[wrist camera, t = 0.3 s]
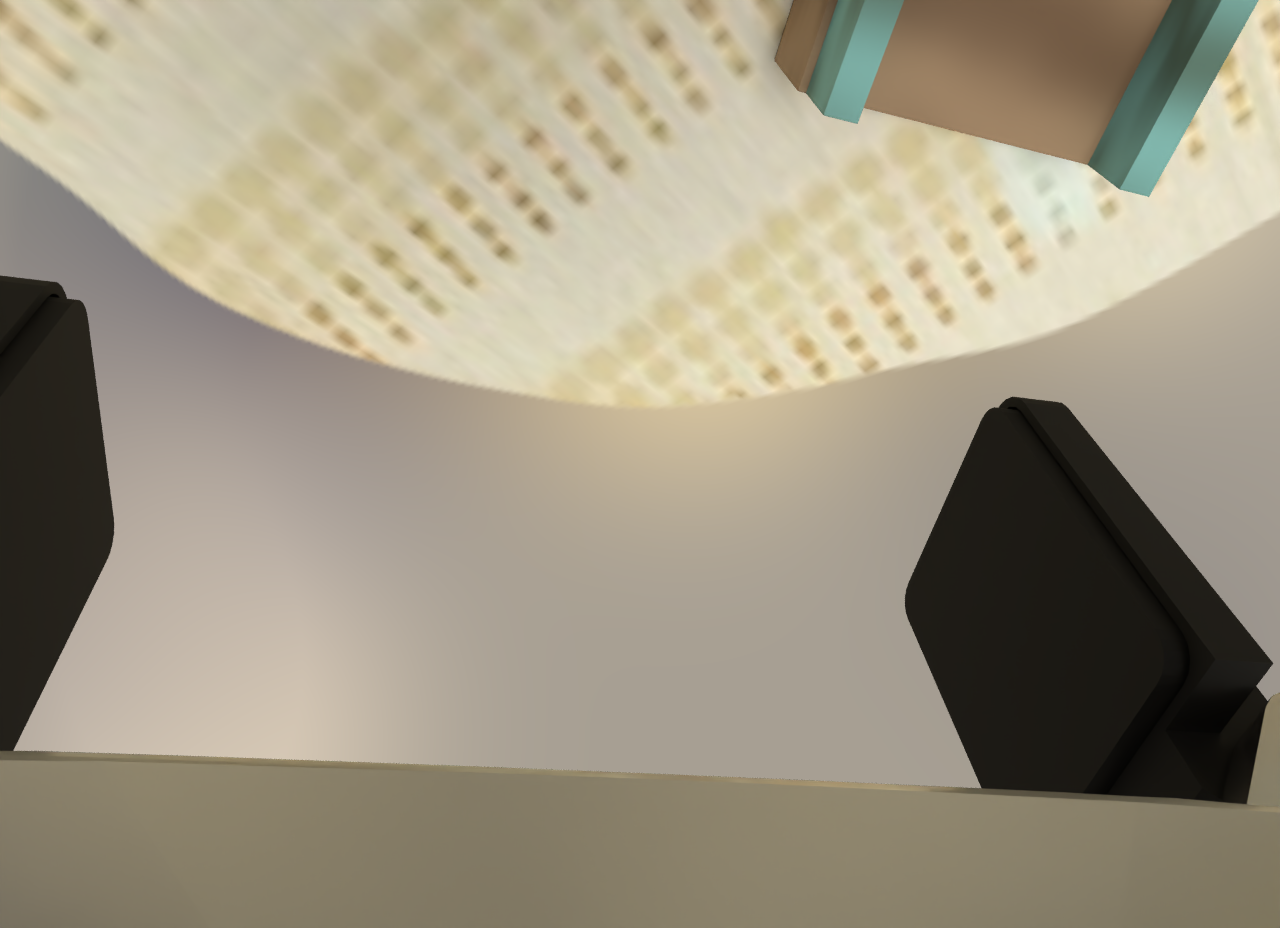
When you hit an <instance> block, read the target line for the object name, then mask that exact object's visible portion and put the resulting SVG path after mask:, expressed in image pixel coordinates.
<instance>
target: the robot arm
mask: <svg viewBox="0 0 1280 928" xmlns="http://www.w3.org/2000/svg"><path fill="white" fill-rule="evenodd" d="M113 536H114V517H113V510H112V501H111V494H110V486H109V478H108V471H107V463H106V455H105V447H104V440H103V432H102V425H101V417H100V409H99V402H98V393H97V386H96V379H95V370H94V362H93V355H92V347H91V340H90V332H89V324H88V317H87V312H86V309H85V306H84V304H83V303H82V302H81V301H80V300H72V299H67V297H66V294H65V292H64V290H63V288H62V286H61V285H60V284H59V283H57V282H50V281H41V280H32V279H24V278H16V277H8V276H0V928H1280V693H1278V694H1275V695H1273V696H1272V697H1271V698H1270V699H1269V701H1267V700H1266V698H1265V697H1264V696H1263V695H1262V693H1261V692H1260V691H1259V689H1258V688H1257V687H1256V685H1257V684H1258V683H1259V682H1260V680H1261V679H1262V678H1263V676H1264V675H1265V674H1266V672H1267V671H1268V670H1269V668H1270V667H1271V666H1272V664H1273V662H1272V661H1271V660H1270V659H1269V657H1268V656H1267V655H1266V654H1265V652H1264V651H1263V650H1262V649H1261V648H1260V646H1259V645H1258V644H1257V643H1256V641H1255V640H1254V639H1253V638H1252V637H1251V635H1250V634H1249V633H1248V631H1247V630H1246V629H1245V628H1244V626H1243V625H1242V624H1241V623H1240V621H1239V620H1238V619H1237V618H1236V616H1235V615H1234V614H1233V613H1232V612H1231V610H1230V609H1229V608H1228V606H1227V605H1226V604H1225V603H1224V601H1223V600H1222V599H1221V598H1220V596H1219V595H1218V594H1217V593H1216V591H1215V590H1214V589H1213V588H1212V587H1211V585H1210V584H1209V583H1208V582H1207V580H1206V579H1205V578H1204V577H1203V575H1202V574H1201V573H1200V572H1199V570H1198V569H1197V568H1196V567H1195V565H1194V564H1193V563H1192V562H1191V560H1190V559H1189V558H1188V557H1187V555H1186V554H1185V553H1184V552H1183V550H1182V549H1181V548H1180V547H1179V545H1178V544H1177V543H1176V542H1175V541H1174V539H1173V538H1172V537H1171V535H1170V534H1169V533H1168V532H1167V531H1166V529H1165V528H1164V527H1163V526H1162V524H1161V523H1160V522H1159V521H1158V519H1157V518H1156V517H1155V516H1154V514H1153V513H1152V512H1151V511H1150V509H1149V508H1148V507H1147V506H1146V504H1145V503H1144V502H1143V501H1142V499H1141V498H1140V497H1139V496H1138V494H1137V493H1136V492H1135V491H1134V489H1133V488H1132V487H1131V486H1130V484H1129V483H1128V482H1127V481H1126V479H1125V478H1124V477H1123V476H1122V474H1121V473H1120V472H1119V471H1118V470H1117V468H1116V467H1115V466H1114V465H1113V463H1112V462H1111V461H1110V460H1109V458H1108V457H1107V456H1106V455H1105V453H1104V452H1103V451H1102V450H1101V449H1100V447H1099V446H1098V445H1097V443H1096V442H1095V441H1094V440H1093V438H1092V437H1091V436H1090V435H1089V434H1088V432H1087V431H1086V430H1085V428H1084V427H1083V426H1082V425H1081V423H1080V422H1079V421H1078V420H1077V419H1076V417H1075V416H1074V415H1073V414H1072V412H1071V411H1070V410H1069V409H1068V408H1067V407H1066V406H1065V405H1064V404H1063V403H1059V402H1052V401H1044V400H1035V399H1027V398H1019V397H1011V398H1008V399H1006V400H1005V401H1004V402H1003V403H1002V404H1001V405H1000V406H999V408H995V407H994V408H992V409H989V410H988V411H987V412H986V414H985V415H984V417H983V418H982V420H981V422H980V424H979V427H978V429H977V431H976V433H975V436H974V438H973V440H972V442H971V445H970V447H969V449H968V451H967V454H966V456H965V458H964V460H963V462H962V465H961V467H960V469H959V471H958V474H957V476H956V478H955V480H954V483H953V485H952V487H951V489H950V491H949V494H948V496H947V498H946V500H945V503H944V505H943V507H942V509H941V512H940V514H939V516H938V518H937V521H936V523H935V525H934V527H933V529H932V532H931V534H930V536H929V538H928V541H927V543H926V545H925V547H924V549H923V552H922V554H921V556H920V558H919V561H918V563H917V565H916V568H915V570H914V572H913V574H912V576H911V579H910V581H909V583H908V587H907V589H906V595H905V609H906V614H907V617H908V620H909V622H910V625H911V626H912V629H913V631H914V634H915V636H916V638H917V641H918V643H919V645H920V648H921V650H922V652H923V654H924V657H925V659H926V661H927V664H928V666H929V668H930V671H931V673H932V675H933V677H934V680H935V682H936V684H937V686H938V689H939V691H940V694H941V696H942V698H943V700H944V703H945V705H946V707H947V709H948V712H949V714H950V716H951V719H952V721H953V723H954V726H955V728H956V730H957V732H958V735H959V737H960V739H961V742H962V744H963V746H964V749H965V751H966V753H967V756H968V758H969V760H970V762H971V765H972V767H973V769H974V772H975V774H976V776H977V778H978V781H979V783H980V785H981V788H962V787H940V786H920V785H899V784H877V783H857V782H835V781H814V780H790V779H768V778H767V779H766V778H745V777H721V776H697V775H675V774H651V773H626V772H602V771H578V770H577V771H576V770H553V769H529V768H504V767H479V766H450V765H424V764H397V763H396V764H395V763H370V762H342V761H314V760H286V759H261V758H233V757H205V756H178V755H176V756H175V755H146V754H115V753H112V754H111V753H83V752H53V751H13V750H14V748H15V746H16V744H17V742H18V740H19V738H20V736H21V734H22V731H23V730H24V727H25V726H26V723H27V721H28V719H29V717H30V715H31V713H32V711H33V709H34V707H35V705H36V703H37V701H38V699H39V697H40V695H41V693H42V691H43V689H44V687H45V685H46V683H47V681H48V679H49V677H50V675H51V673H52V671H53V669H54V667H55V665H56V662H57V661H58V659H59V656H60V654H61V652H62V650H63V648H64V646H65V644H66V642H67V640H68V638H69V636H70V634H71V632H72V630H73V628H74V626H75V624H76V622H77V620H78V618H79V616H80V614H81V612H82V610H83V608H84V606H85V603H86V602H87V599H88V598H89V595H90V594H91V591H92V589H93V587H94V585H95V583H96V581H97V579H98V577H99V575H100V573H101V571H102V569H103V567H104V565H105V563H106V561H107V559H108V556H109V554H110V551H111V547H112V542H113Z"/></svg>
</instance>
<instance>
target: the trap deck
mask: <svg viewBox="0 0 1280 928" xmlns="http://www.w3.org/2000/svg"><path fill="white" fill-rule="evenodd" d="M1257 2H1258V0H794V1H793V4H792V8H791V11H790V14H789V17H788V20H787V23H786V26H785V29H784V32H783V35H782V39H781V42H780V45H779V48H778V51H777V54H776V57H775V62H776V63H777V64H778V66H779V67H780V68H781V70H782V71H783V72H784V73H785V75H786V76H787V77H788V79H789V80H790V81H791V83H792V84H793V85H794V86H795V88H796V89H797V90H798V91H800V92H804V93H806V94H807V95H808V96H809V97H810V99H811V100H812V101H813V103H814V104H815V105H816V106H817V108H818V109H819V110H820V111H821V113H822V114H823V115H824V116H828V117H832V118H836V119H840V120H844V121H848V122H852V123H856V124H858V121H859V118H860V116H861V113H862V110H863V108H867V109H871V110H875V111H879V112H882V113H886V114H890V115H894V116H898V117H902V118H906V119H910V120H914V121H918V122H922V123H926V124H930V125H934V126H937V127H941V128H945V129H949V130H953V131H957V132H961V133H965V134H969V135H973V136H977V137H981V138H985V139H988V140H992V141H996V142H1000V143H1004V144H1008V145H1012V146H1016V147H1020V148H1024V149H1028V150H1032V151H1036V152H1040V153H1043V154H1047V155H1051V156H1055V157H1059V158H1063V159H1067V160H1071V161H1075V162H1079V163H1083V164H1087V165H1089V166H1090V167H1091V168H1092V169H1094V170H1095V171H1096V172H1098V173H1099V174H1100V175H1102V176H1103V177H1104V178H1105V179H1107V180H1108V181H1109V182H1111V183H1112V184H1113V185H1115V186H1116V187H1117V188H1118V189H1120V190H1124V191H1128V192H1132V193H1136V194H1140V195H1144V196H1148V197H1149V196H1150V194H1151V192H1152V190H1153V189H1154V187H1155V185H1156V183H1157V181H1158V180H1159V178H1160V176H1161V174H1162V172H1163V171H1164V169H1165V167H1166V165H1167V163H1168V162H1169V160H1170V158H1171V156H1172V154H1173V153H1174V151H1175V149H1176V147H1177V146H1178V144H1179V142H1180V140H1181V138H1182V137H1183V135H1184V133H1185V131H1186V129H1187V128H1188V126H1189V124H1190V122H1191V120H1192V119H1193V117H1194V115H1195V113H1196V111H1197V110H1198V108H1199V106H1200V104H1201V102H1202V101H1203V99H1204V97H1205V95H1206V94H1207V92H1208V90H1209V88H1210V86H1211V85H1212V83H1213V81H1214V79H1215V77H1216V76H1217V74H1218V72H1219V70H1220V68H1221V67H1222V65H1223V63H1224V61H1225V59H1226V58H1227V56H1228V54H1229V52H1230V50H1231V49H1232V47H1233V45H1234V43H1235V42H1236V40H1237V38H1238V36H1239V34H1240V33H1241V31H1242V29H1243V27H1244V25H1245V24H1246V22H1247V20H1248V18H1249V16H1250V15H1251V13H1252V11H1253V9H1254V7H1255V6H1256V4H1257Z"/></svg>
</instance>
